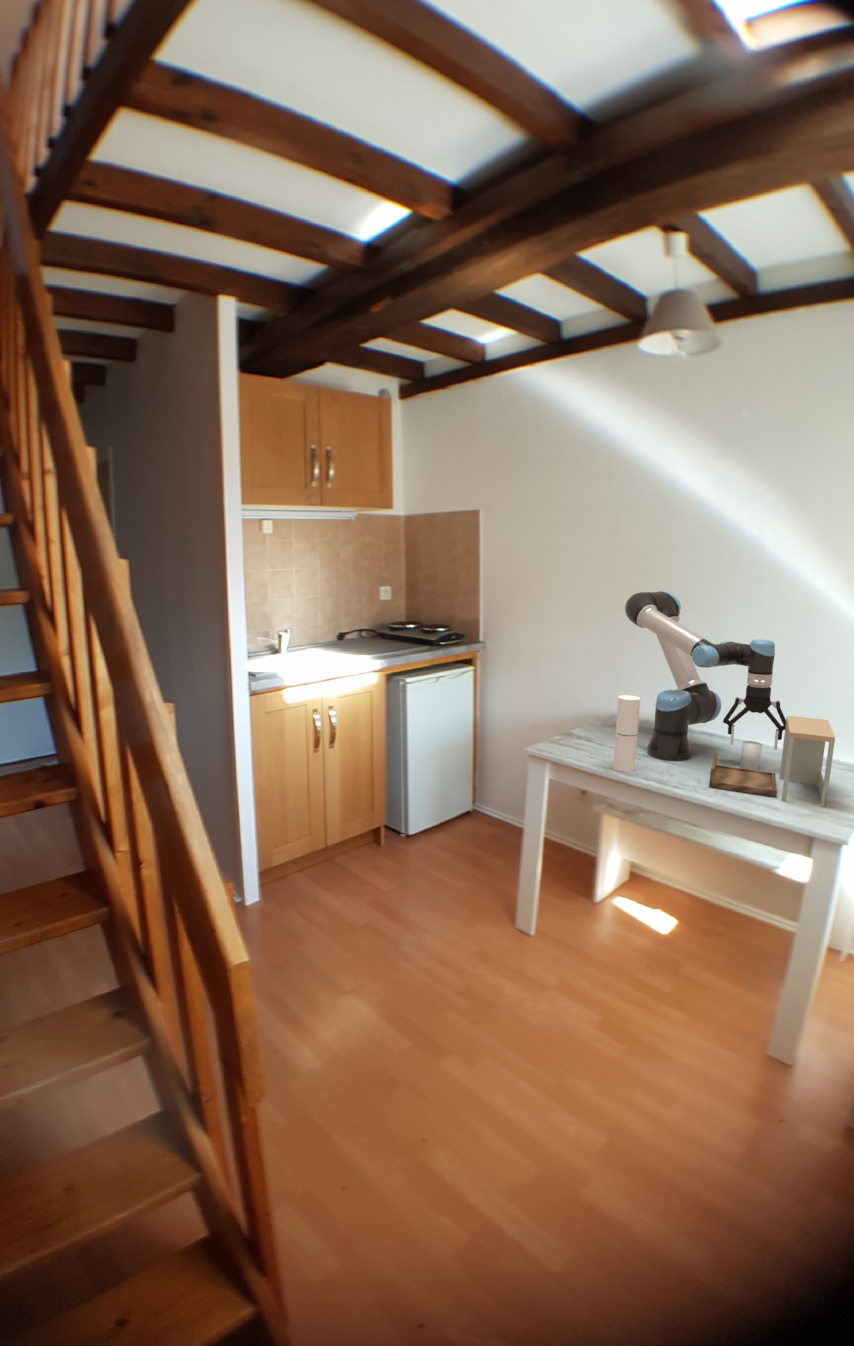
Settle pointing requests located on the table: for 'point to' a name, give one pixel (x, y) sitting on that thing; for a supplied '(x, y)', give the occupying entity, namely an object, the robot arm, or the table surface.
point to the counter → (806, 753)
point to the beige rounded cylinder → (751, 755)
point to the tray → (742, 779)
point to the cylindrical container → (626, 732)
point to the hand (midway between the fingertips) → (753, 746)
